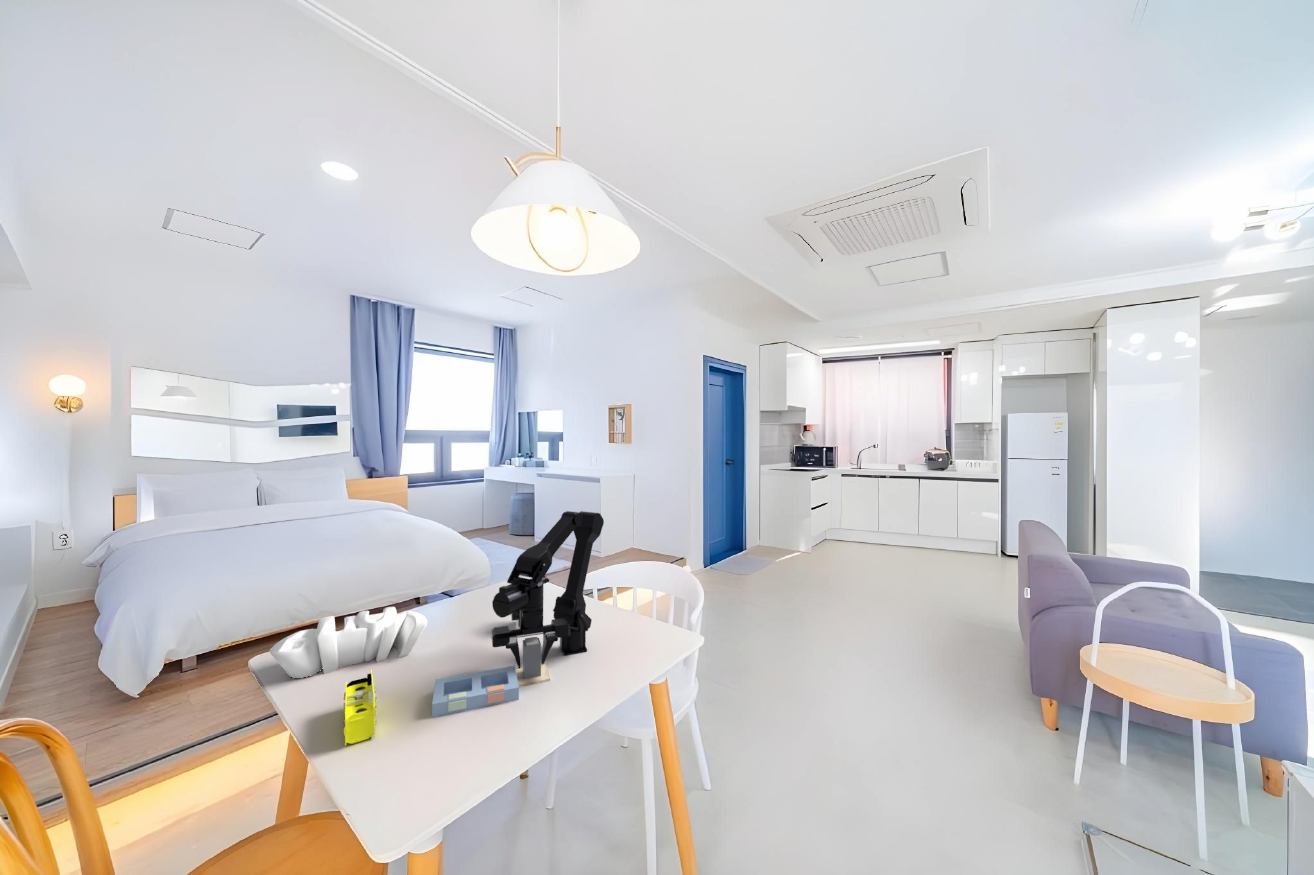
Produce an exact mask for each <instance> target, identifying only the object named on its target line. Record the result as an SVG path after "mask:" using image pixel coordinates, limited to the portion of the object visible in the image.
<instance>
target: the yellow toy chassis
mask: <svg viewBox="0 0 1314 875" xmlns="http://www.w3.org/2000/svg"><path fill="white" fill-rule="evenodd" d="M366 675H367V676H366V677H363V678H359V679H355V680H352V681H350V682H347V680H346V681H345V691H344V694H343V695H344V696H343V700H344V702H343V710H344V711H343V716H344V718H345V719H344V720H343V724H344V727H342V729H343V736H344V746H347V744H351V745H354V744H356V743H359V742H362V741H366V740H369V738H370V737H371V738H372V736H373V738H375V736H376V733H375V732H376V731H375V729H376V723H377V716H376V708H377V692H376V690H377V688H376V687H374V686H375V685H374V676H373V669H370V673H367V674H366Z"/></svg>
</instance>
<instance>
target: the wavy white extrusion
mask: <svg viewBox="0 0 1314 875" xmlns="http://www.w3.org/2000/svg"><path fill="white" fill-rule="evenodd" d="M335 620H336V619H335V616H334V615H329V616H324V617H320V618H319V619H318V623H317V628H310V629H309V628H307V629H304V630H298V631H296V632H294V633H292V634H290V635H288V636H286V637H284V638H282V639H281V640H279V641H278V642H276V643H275V644H274V645H272V647H271V648H270V649H269V653H270V655H271V656H272V657H273V659H274V660H276V662H277V663H278V664H279V666H280V667H281V668H282V669H283V671H284V672H285V673H286V674H287V675H288V676H289V677H290V678H291V677H292V678H291V679H294V678H301V679H303V678H302V677H306V678H309V677H308V676H310V675H313V674H315V675H317V674H318V673H317V672H319V671H320V670H321V669H322V668H323V670H321V671H322V672H323V674H327V673H326V672H329V673H332V672H334V671H333V670H335V671H338V670H339V669H338V668H340V667H339V666H343V667H347V666H346V665H349V666H352V664H354V665H358V664H361V663H364V661H369V662H371V661H373V660H374V658H375V657H376V658H375V662H376V661H380V662H384V661H386V660H387V658H388V657H389V653H390V651H391V648H392V647H395V648H396V649H397V651H398V656H397V658H403V657H407V656H409V654H410V653H411V651H412V650H413V648H414V646H415V645H416V643H417V641H418V640H419V638H420V637H421V635H422V633H423V632H424V630H425V628H426V627H427V625H428V619H427V617H426V616H425V615H423V614H422V613H419V612H417V611H412V610H411V611H410V610H404V611H402V612H400V613H397V608H396V607H395V606H388V607H385V608H383V611H382V612H379V613H373V614H370V610H362V611H359V612H358V613H357V615H352V616H351V615H350V616H345V617H344V621H343V622H344V626H343V629H342V630H338V631H337V630H336V621H335ZM372 659H373V660H372ZM385 659H386V660H385ZM383 660H384V661H383ZM357 663H358V664H357ZM337 669H338V670H337ZM321 671H320V672H321ZM331 671H332V672H331ZM320 672H319V673H320ZM316 673H317V674H316ZM313 676H314V675H313ZM310 677H311V676H310Z"/></svg>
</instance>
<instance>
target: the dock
mask: <svg viewBox="0 0 1314 875" xmlns="http://www.w3.org/2000/svg"><path fill="white" fill-rule="evenodd" d="M515 669H516V666H515V665H509V666H503V667H498V668H492V669H486V670H479V671H475V672H470V673H465V674H457V675H453V676H446V677H440V678H436V679H435V681H434V688H433V696H432V702H431V712H432V713H431V718H432V719H433V718H438V717H441V716H442V717H443V716H445V715H451V714H455V713H456V714H457V713H461V712H465V711H471V710H476V709H480V708H481V709H482V708H485V707H489V706H495V705H500V704H504V703H509V702H514V701H519V700H520V687H519V685H518V680H517V675H516V670H515Z"/></svg>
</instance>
